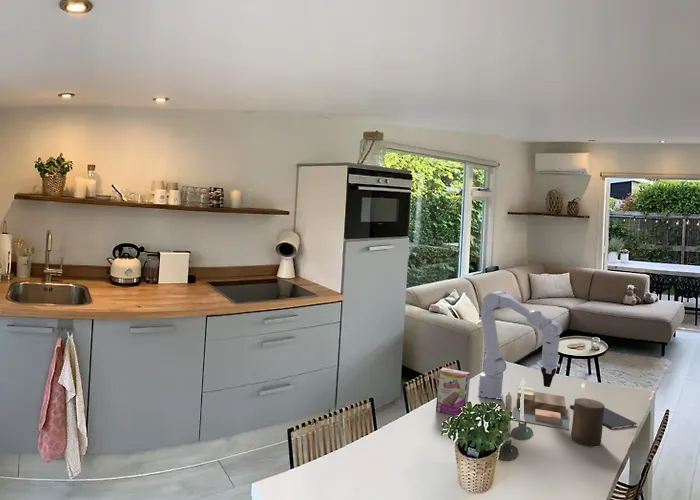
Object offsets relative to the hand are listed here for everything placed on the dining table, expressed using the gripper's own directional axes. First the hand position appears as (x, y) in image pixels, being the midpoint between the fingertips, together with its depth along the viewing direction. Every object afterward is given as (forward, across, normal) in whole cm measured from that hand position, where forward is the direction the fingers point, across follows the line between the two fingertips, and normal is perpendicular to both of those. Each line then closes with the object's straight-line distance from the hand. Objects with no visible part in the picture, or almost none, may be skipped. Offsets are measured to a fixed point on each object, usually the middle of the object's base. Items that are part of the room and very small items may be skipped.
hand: (546, 386), depth 213 cm
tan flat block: (+10, +4, +2) cm, 11 cm away
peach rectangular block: (+8, -8, -1) cm, 11 cm away
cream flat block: (+6, +4, +8) cm, 11 cm away
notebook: (+11, +6, -21) cm, 25 cm away
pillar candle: (+10, -22, -14) cm, 28 cm away
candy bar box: (+11, -19, +33) cm, 40 cm away
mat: (+10, -8, +2) cm, 13 cm away
